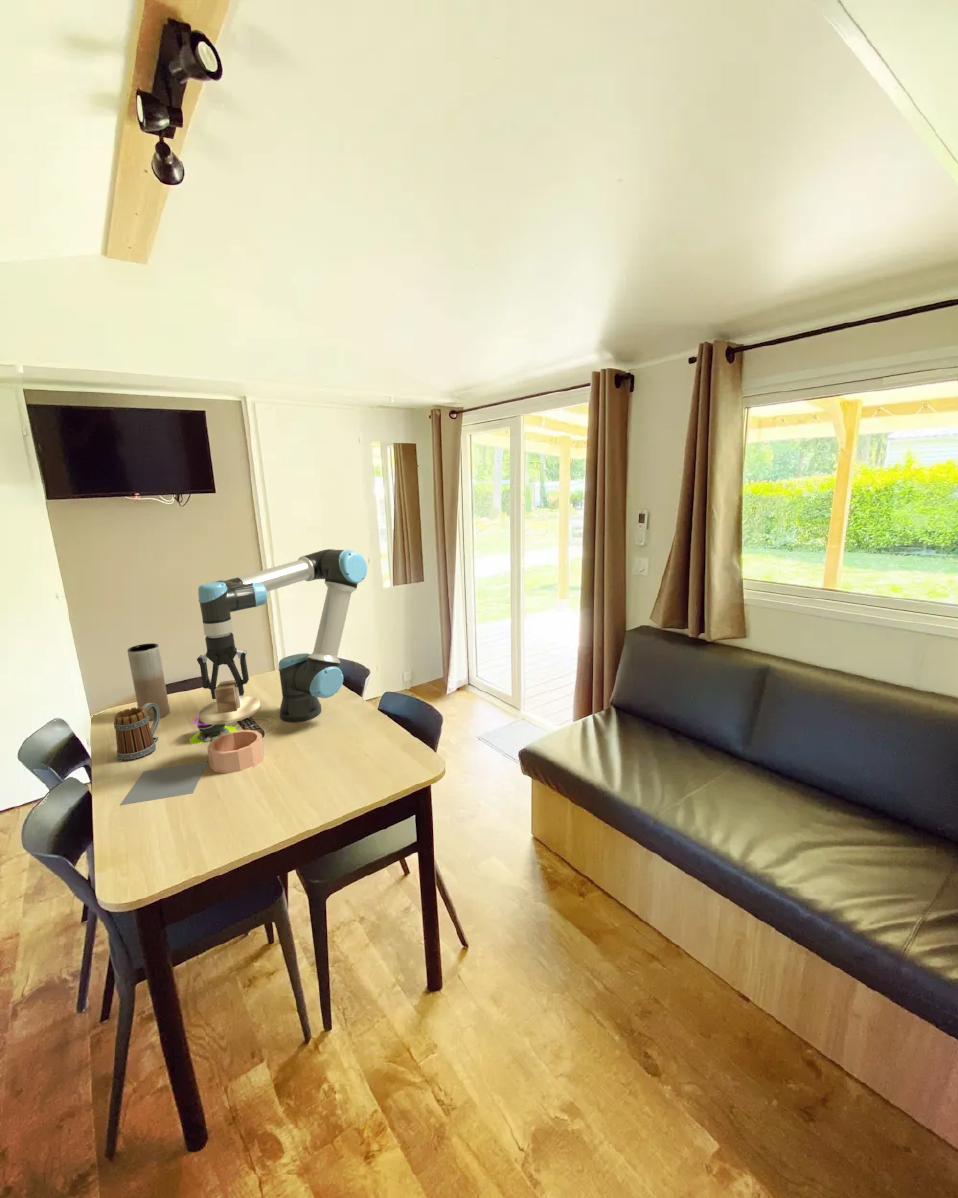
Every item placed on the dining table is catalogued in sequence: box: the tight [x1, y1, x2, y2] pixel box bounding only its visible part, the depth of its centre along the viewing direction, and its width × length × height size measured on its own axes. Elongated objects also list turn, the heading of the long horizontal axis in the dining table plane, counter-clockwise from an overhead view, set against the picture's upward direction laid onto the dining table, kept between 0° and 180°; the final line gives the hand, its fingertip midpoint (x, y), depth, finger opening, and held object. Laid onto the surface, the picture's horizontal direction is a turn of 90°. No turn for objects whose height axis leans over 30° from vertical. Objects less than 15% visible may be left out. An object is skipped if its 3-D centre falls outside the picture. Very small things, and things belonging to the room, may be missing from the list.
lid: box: [198, 679, 261, 725], centre depth 155 cm, size 17×17×9 cm
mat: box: [119, 760, 209, 806], centre depth 148 cm, size 18×18×1 cm
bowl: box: [207, 729, 265, 774], centre depth 159 cm, size 15×15×7 cm
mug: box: [113, 703, 161, 762], centre depth 166 cm, size 16×11×15 cm
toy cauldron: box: [189, 711, 238, 745], centre depth 176 cm, size 15×15×11 cm
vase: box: [127, 643, 171, 722], centre depth 193 cm, size 10×10×28 cm
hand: (229, 706), depth 155 cm, fingers closed on lid, 5 cm apart
